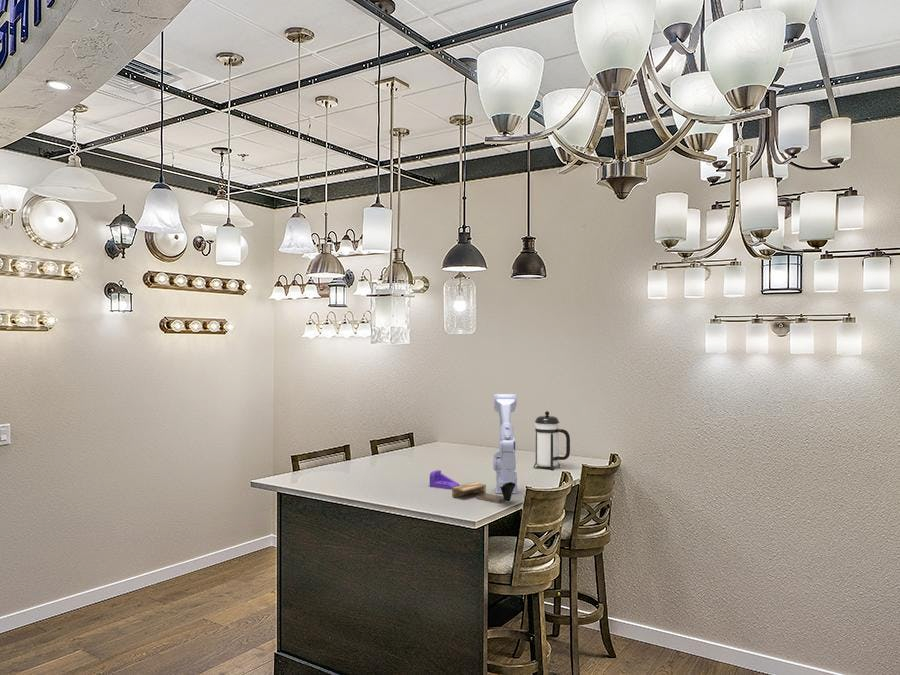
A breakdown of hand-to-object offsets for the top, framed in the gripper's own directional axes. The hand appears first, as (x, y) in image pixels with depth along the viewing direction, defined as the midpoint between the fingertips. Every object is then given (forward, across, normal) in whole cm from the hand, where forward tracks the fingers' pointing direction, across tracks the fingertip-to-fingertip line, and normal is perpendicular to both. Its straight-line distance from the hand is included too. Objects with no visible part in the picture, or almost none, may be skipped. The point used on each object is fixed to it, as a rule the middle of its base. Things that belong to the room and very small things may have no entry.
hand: (507, 500), depth 274 cm
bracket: (+2, -12, -38) cm, 40 cm away
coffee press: (+1, -80, -15) cm, 81 cm away
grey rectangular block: (+2, -2, -8) cm, 9 cm away
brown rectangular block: (+1, -3, -19) cm, 20 cm away
